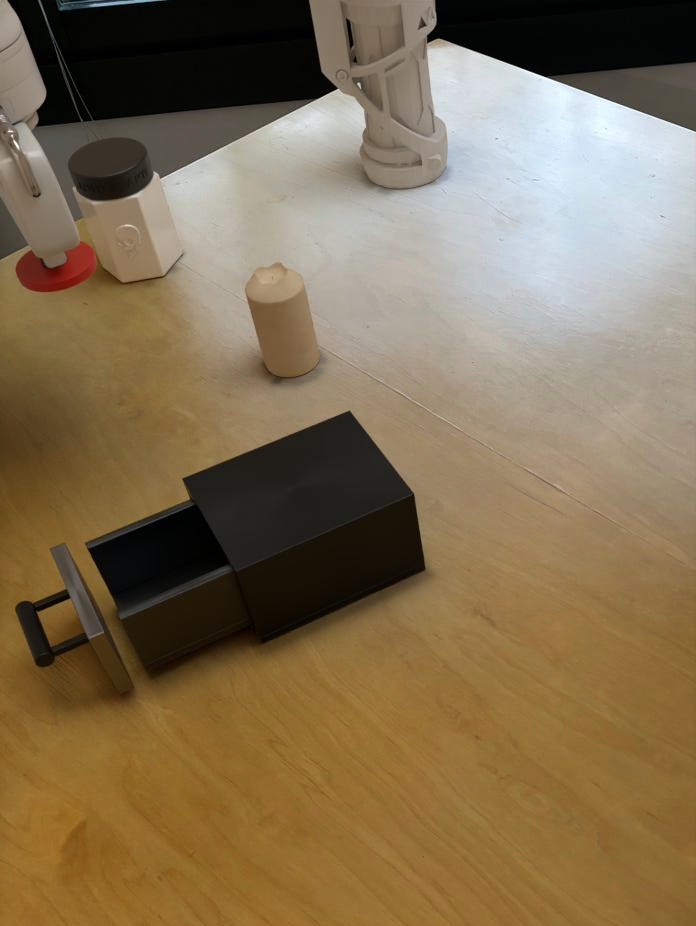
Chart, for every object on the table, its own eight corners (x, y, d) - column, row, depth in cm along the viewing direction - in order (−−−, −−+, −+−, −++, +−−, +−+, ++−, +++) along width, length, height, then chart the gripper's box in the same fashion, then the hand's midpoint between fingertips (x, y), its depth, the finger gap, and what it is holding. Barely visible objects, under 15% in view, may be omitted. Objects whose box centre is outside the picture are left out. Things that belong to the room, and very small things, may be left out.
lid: (30, 302, 88) (11, 260, 85) (10, 264, 92) (-9, 223, 89) (107, 274, 90) (91, 233, 87) (84, 239, 94) (68, 198, 91)
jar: (102, 289, 116) (61, 183, 107) (103, 248, 121) (63, 144, 112) (184, 274, 117) (151, 168, 107) (182, 234, 122) (149, 130, 112)
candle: (255, 372, 106) (230, 283, 98) (281, 339, 109) (259, 250, 101) (304, 382, 104) (283, 293, 96) (329, 348, 107) (311, 259, 99)
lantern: (447, 141, 131) (425, -95, 111) (452, 185, 125) (430, -57, 105) (341, 152, 131) (301, -82, 112) (341, 197, 125) (298, -43, 105)
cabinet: (262, 644, 84) (235, 571, 77) (210, 552, 91) (181, 478, 84) (426, 569, 88) (414, 493, 81) (365, 486, 94) (349, 409, 88)
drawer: (65, 719, 80) (29, 664, 74) (30, 627, 86) (-6, 570, 80) (283, 620, 84) (264, 562, 79) (235, 539, 90) (214, 479, 85)
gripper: (59, 124, 74) (124, 299, 85) (-14, 23, 85) (52, 188, 96) (-32, 153, 72) (47, 327, 83) (-93, 46, 83) (-17, 211, 94)
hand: (49, 252), depth 90 cm, fingers closed on lid, 2 cm apart
